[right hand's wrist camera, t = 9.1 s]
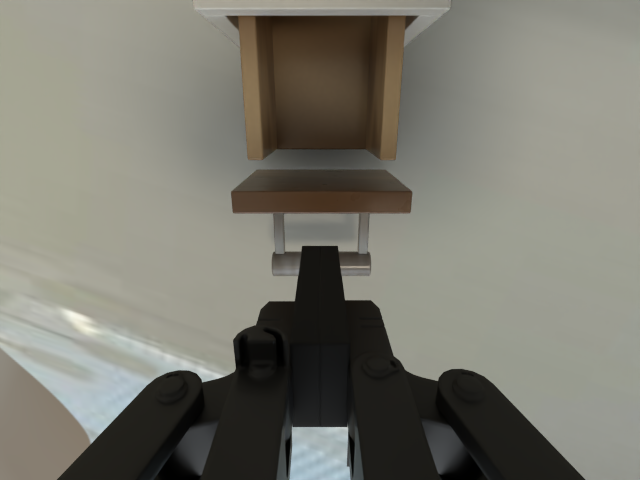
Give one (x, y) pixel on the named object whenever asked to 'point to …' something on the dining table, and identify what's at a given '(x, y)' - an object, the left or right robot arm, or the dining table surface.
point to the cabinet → (321, 11)
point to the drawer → (321, 120)
